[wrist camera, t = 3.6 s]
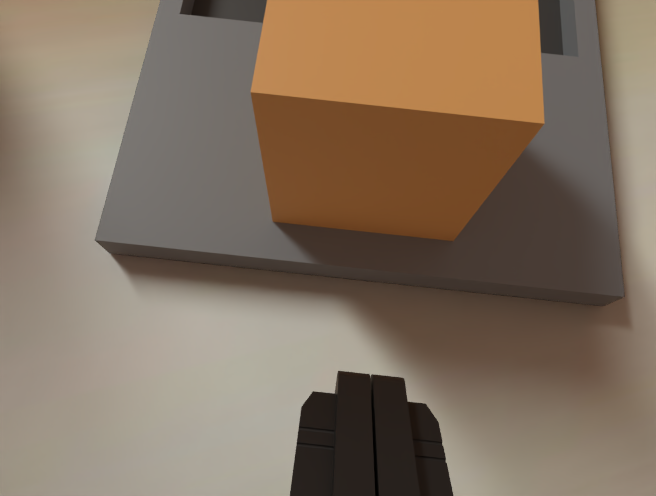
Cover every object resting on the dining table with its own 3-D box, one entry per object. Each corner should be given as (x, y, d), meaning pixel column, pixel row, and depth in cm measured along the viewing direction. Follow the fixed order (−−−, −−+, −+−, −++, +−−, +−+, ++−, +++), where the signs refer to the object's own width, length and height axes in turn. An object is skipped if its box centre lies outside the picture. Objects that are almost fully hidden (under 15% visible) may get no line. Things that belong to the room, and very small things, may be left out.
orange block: (453, 241, 20) (544, 123, 12) (272, 221, 20) (250, 91, 12) (455, 90, 22) (533, -88, 14) (294, 72, 22) (287, -114, 14)
